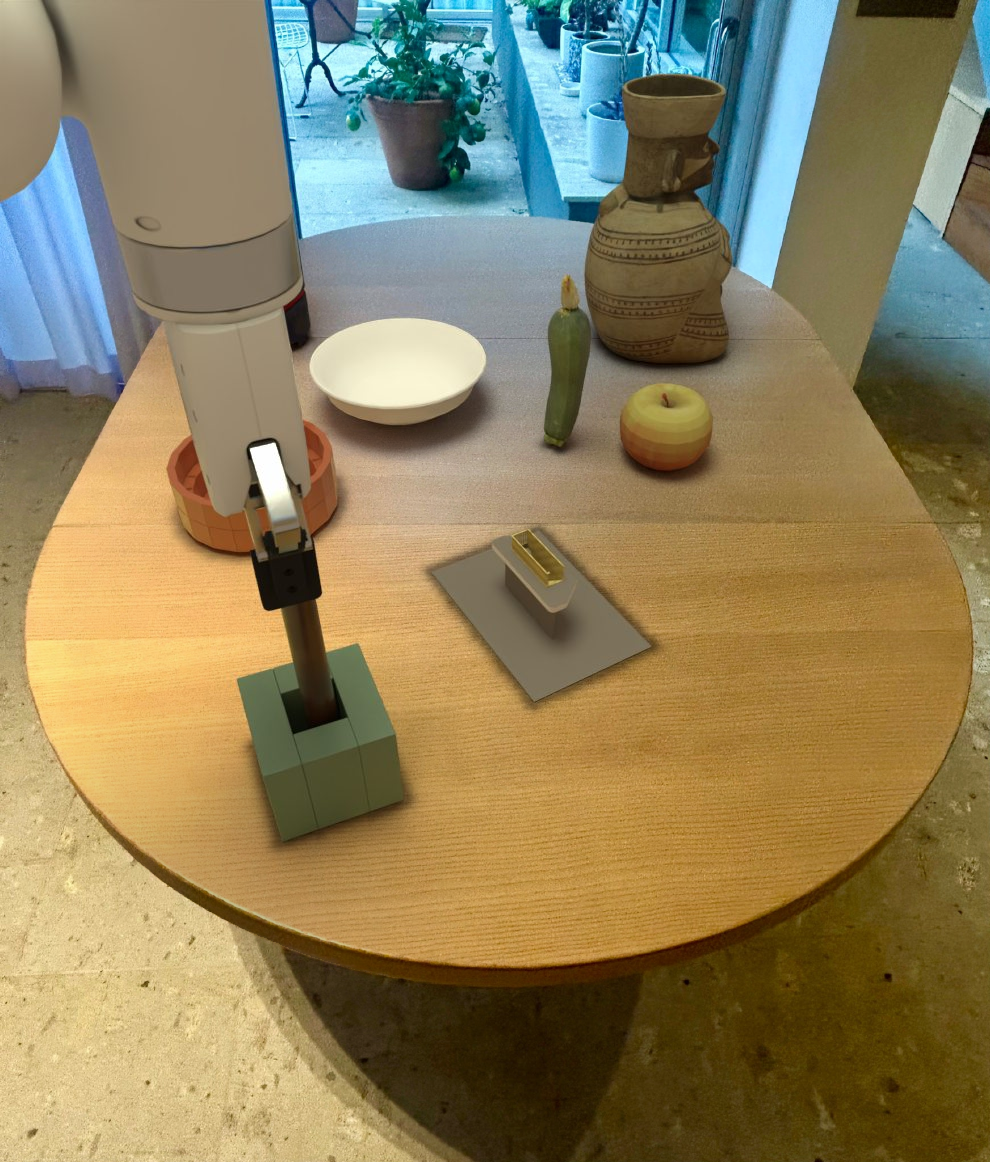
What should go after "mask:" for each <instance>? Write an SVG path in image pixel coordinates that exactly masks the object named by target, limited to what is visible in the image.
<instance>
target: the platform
mask: <svg viewBox="0 0 990 1162" xmlns="http://www.w3.org/2000/svg"><path fill="white" fill-rule="evenodd" d="M430 572H431V574H432V575H433V577H434V578H435V579H436V580H437V582H438V583H439V584H440V586H441V587H442V588H443V589H444V590H445V591H446V593H447V594H448V595H449V596H450V598H451V599H452V600H453V602H454V603H455V604H456V605H457V607H458V608H459V609H460V611H461V612H462V613H463V614H464V616H465V617H466V618H467V619H468V620H469V622H470V624H472V626H473V627H474V628H475V630H476V631H477V632H478V633H479V634H480V636H481V637H482V638H483V639H484V641H485V642H486V643H487V645H488V646H489V647H490V648H491V650H492V651H493V652H494V653H495V655H496V656H497V657H498V658H499V660H500V661H501V662H502V663H503V665H504V666H505V667H506V669H507V670H508V672H510V674H511V675H512V676H513V678H514V679H515V680H516V681H517V682H518V684H519V685H520V686H521V688H522V689H523V690H524V691H525V692H526V694H527V695H528V696H529V698H530V699H531V700H532V701H533V703H535V702H537V701H539V700H542V699H543V698H546V697H548V696H550V695H551V694H554V693H556V692H559V691H561V690H563V689H565V688H567V687H569V686H572V685H573V684H576V683H577V682H579V681H581V680H584V679H586V678H588V677H590V676H593V675H595V674H597V673H598V672H601V671H603V670H605V669H607V668H609V667H611V666H613V665H615V664H617V663H620V662H622V661H624V660H626V659H628V658H631V657H634V655H637V654H639V653H641V652H643V651H645V650H647V649H650V648H651V647H652V644H650V643H649V642H648V640H646V639H645V638H644V637H643V636H642V635H641V634H640V633H639V632H638V631H637V629H635V627H633V625H632V624H631V623H630V622H628V620H626V618H625V617H624V616H622V614H621V613H620V612H619V611H618V610H617V609H616V608H615V606H613V605H612V604H611V603H610V602H609V601H608V600H607V599H606V598H605V596H604V595H603V594H602V593H600V592H599V590H597V589H596V587H595V586H594V585H593V584H592V583H591V582H590V581H589V580H588V579H587V578H586V577H585V576H584V575H583V574H582V573H581V572H580V571H579V570H578V569H577V568H576V567H575V566H574V565H573V564H572V563H571V561H569V560H568V559H567V558H566V557H565V555H564V554H562V553H561V551H560V550H559V549H558V548H557V547H556V546H555V545H554V544H553V543H552V542H551V541H550V540H549V539H548V538H547V537H546V536H545V535H544V534H543V533H542V532H541V530H536V531H534V532H532V531H531V529H529V528H526V529H524V530H522V531H518V532H517V533H514V534H511V535H502V536H499V537H497V538H495V539H493V540H492V541H491V548H489V549H487V550H484V551H481V552H479V553H476V554H474V555H472V556H468V557H466V558H464V559H460V560H459V561H456V562H453V563H451V564H448V565H445V566H443V567H440V568H437V569H435V570H433V571H430Z"/></svg>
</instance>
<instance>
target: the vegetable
mask: <svg viewBox="0 0 990 1162" xmlns="http://www.w3.org/2000/svg"><path fill="white" fill-rule="evenodd" d="M560 304H561V307H560V308H559V309H557V310H556V311H555V312H554V313H553V314H552V316H551V318H550V320H549V323H548V327H547V344H548V350H549V359H550V368H551V369H550V371H551V374H550V384H549V385H550V386H549V391H548V394H547V395H548V396H547V400H546V407H545V414H544V422H543V431H544V433H545V434H544V436H543V441H544V442H545V443H547V445H551V444H552V445H554V446H557V447H560V448H561V447H563V445H564V444H565V442H566V441H567V440H568V439H569V438H570V437H571V435H572V433H573V430H574V427H575V425H576V422H577V419H578V416H579V412H580V407H581V403H582V397H583V390H584V385H585V379H586V374H587V368H588V364H589V359H590V353H591V345H592V344H591V343H592V327H591V322H590V320H589V317H588V314H587V313H586V312H585V310H583V309H582V308H580V307H579V304H580V295H579V291H578V288H577V286H576V284H575V281H574V280H573V278H572V276H571V274H564V275H563V278H562V280H561V283H560Z"/></svg>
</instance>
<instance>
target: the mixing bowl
mask: <svg viewBox="0 0 990 1162" xmlns="http://www.w3.org/2000/svg"><path fill="white" fill-rule="evenodd" d="M303 425H304V432H305V438H306V445H307V453H308V460H309V469H310V479H311V489H310V491H309V493H308V494H307V496H306V497H305V498H304V499H301V498H300V499H301V502H302V506H303V510H304V514H305V518H306V521H307V525H308V529H309V533H310V535H312V534H313V533H315V531H317V530H319V528H321V526H323V525H324V524H325V523H326V522H327V521H329V519H330V518H331V516H332V514H333V513H334V512H335V509H336V508H337V506H338V500H339V485H338V478H337V471H336V464H335V458H334V452H333V446H332V444H331V441H330V439H329V437H328V436H327V434H326V433H325V431H323V430H322V429H321V428H319V427H318V426H316V425H315V424H314V423H313V422H311V421H308V420H305V419H303ZM165 470H166V473H167V479H168V482H169V485H170V488H171V492H172V495H173V498H174V501H175V505H176V508H177V511H178V514H179V518H180V520H181V523H182V526H183V528H184V529H185V530H186V531H187V532H188V533H189V535H191V536H192V538H193V539H194V540H196V541H198V542H200V543H202V544H204V545H206V546H208V547H211V548H212V549H217V550H222V551H229V552H234V553H248V552H249V553H250V551H249V550H253V549H255V548H254V544H253V540H252V537H251V533H250V529H249V526H248V522H247V518H246V514H245V511H244V509H243V511H242V513H236V514H231V515H230V516H228V517H225V516H222V515H220V514H219V513H217V512H216V511H215V510H214V508H213V506H212V503H211V500H210V497H209V494H208V490H207V487H206V484H205V481H204V477H203V474H202V470H201V467H200V464H199V460H198V457H197V453H196V450H195V446H194V443H193V439H192V435H191V434H190V435H189V436H187V437H186V438H183V440H182V441H181V442H180V443H179V444H178V445H177V446H176V448H175V449H174V450H172V452H171V454H170V455H169V459H168V463H167V465H166V469H165ZM257 514H258V518H259V521H260V525H261V529H262V533H263V536H264V535H265V532H266V531H270V527H269V521H268V516H267V512H266V509H265V508H262V509H258V510H257Z"/></svg>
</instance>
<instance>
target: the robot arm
mask: <svg viewBox="0 0 990 1162" xmlns="http://www.w3.org/2000/svg"><path fill="white" fill-rule="evenodd" d="M269 31H270V30H269V23H268V17H267V9H266V1H265V0H0V203H2V202H4V201H7V200H8V199H10V198H11V197H13V196H16V195H17V194H19V193H20V192H22V191H23V190H25V189H26V188H27V187H28V186H29V185H30V184H31V183H32V182H33V181H34V180H35V179H36V178H37V177H39V175H40V174H41V173H42V171H43V170H44V169H45V167H46V166H47V164H48V162H49V160H50V158H51V157H52V155H53V154H54V150H55V147H56V144H57V140H58V137H59V133H60V129H61V118H65V117H69V118H70V117H71V118H74V119H76V120H78V121H79V122H80V123H81V124H82V125H83V126H84V128H85V129H86V131H87V134H88V138H89V140H90V141H89V142H90V145H91V148H92V152H93V155H94V159H95V162H96V166H97V170H98V173H99V176H100V177H99V178H100V180H101V185H102V187H103V192H104V195H105V198H106V202H107V206H108V209H109V213H110V217H111V220H112V224H113V228H114V230H115V234H116V237H117V241H118V244H119V248H120V252H121V255H122V256H121V257H122V259H123V263H124V267H125V271H126V273H127V277H128V281H129V285H130V289H131V292H132V296H133V300H134V302H135V304H136V305H137V308H139V309H140V310H141V311H143V312H145V313H146V314H147V315H148V316H151V317H154V318H156V319H159V320H162V322H163V326H164V331H165V335H166V341H167V345H168V346H167V347H168V350H169V354H170V358H171V362H172V366H173V370H174V374H175V377H176V381H177V385H178V388H179V393H180V397H181V401H182V404H183V409H184V412H185V416H186V419H187V420H186V421H187V423H188V427H189V431H190V432H189V433H190V435H192V439H193V443H194V446H195V450H196V453H197V457H198V460H199V464H200V467H201V470H202V474H203V477H204V481H205V484H206V487H207V490H208V494H209V497H210V500H211V503H212V506H213V508H214V510H215V511H216V512H217V513H219V514H220V515H222V516H225V517H228V516H230V515H231V514H236V513H242V511H243V509H244V511H245V514H246V518H247V522H248V526H249V529H250V533H251V537H252V540H253V544H254V548H255V549H253V550H249V551H250V552H249V555H250V559H251V564H252V568H253V573H254V576H255V581H256V584H257V585H256V586H257V590H258V594H259V598H260V602H261V604H262V608H263V611H266V612H273V611H276V610H281V608H284V607H288V606H292V605H296V604H299V603H303V602H307V601H311V600H315V599H316V600H317V599H318V600H319V598H321V597H322V595H323V587H322V583H321V576H320V570H319V569H320V568H319V564H318V558H317V557H318V556H317V552H316V547H315V546H316V545H315V540H314V538H313V536H312V534H310V533H309V529H308V525H307V521H306V518H305V514H304V510H303V506H302V502H301V499H304V498H305V497H306V496H307V494H308V493H309V491H310V489H311V479H310V469H309V460H308V453H307V445H306V438H305V432H304V425H303V420H304V418H303V413H302V407H301V401H300V394H299V387H298V384H297V383H298V382H297V377H296V376H297V375H296V370H295V365H294V360H293V350H292V347H291V344H290V342H289V336H288V331H287V325H286V320H285V314H284V309H283V306H285V305H286V304H288V303H289V302H290V301H292V300H293V299H294V298H295V297H296V296H297V295H298V294H299V292H300V291H301V288H302V286H303V277H302V270H303V269H302V270H301V263H302V262H301V263H300V256H301V255H300V256H299V250H300V248H299V249H298V243H299V240H298V241H297V236H298V233H297V234H296V230H297V226H296V227H295V223H296V219H295V220H294V217H295V213H294V212H295V211H294V212H293V210H294V206H293V207H292V203H293V197H292V191H290V190H291V185H290V186H289V183H290V176H289V170H288V169H289V168H288V161H287V154H286V148H285V147H286V146H285V140H284V134H283V133H284V132H283V125H282V118H281V111H280V110H281V109H280V106H279V105H280V104H279V96H278V89H277V82H276V74H275V68H274V60H273V53H272V47H271V46H272V45H271V38H270V32H269ZM300 498H301V499H300ZM262 508H265V509H266V512H267V516H268V521H269V527H270V531H266V532H265V535H264V536H263V533H262V529H261V525H260V521H259V518H258V514H257V510H258V509H262Z"/></svg>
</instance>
